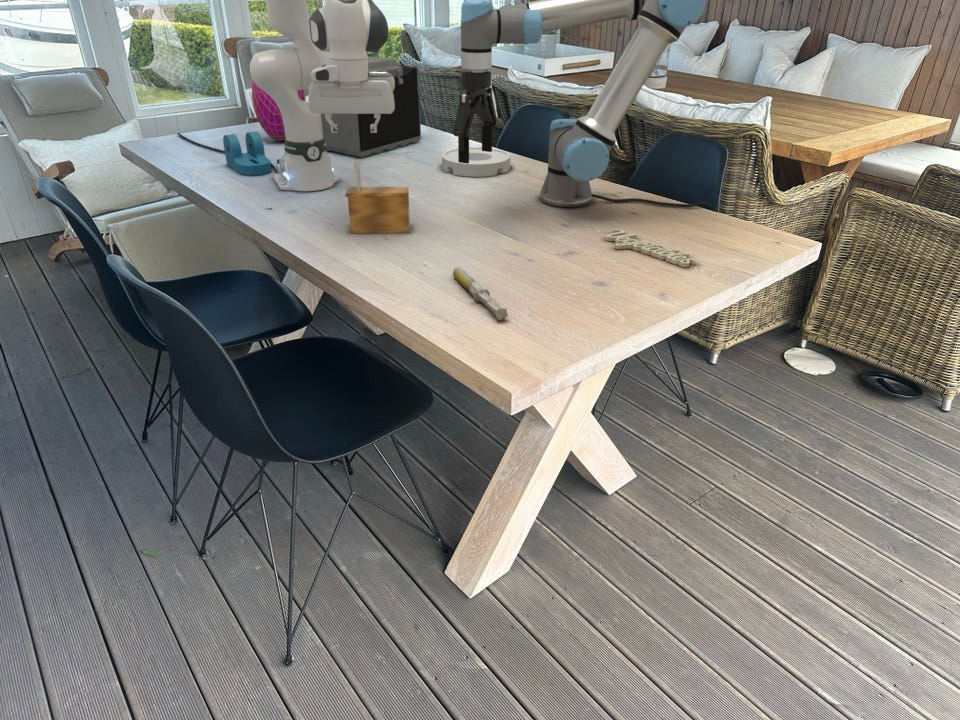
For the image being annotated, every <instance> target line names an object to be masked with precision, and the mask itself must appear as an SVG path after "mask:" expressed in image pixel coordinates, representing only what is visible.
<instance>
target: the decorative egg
mask: <svg viewBox="0 0 960 720" xmlns="http://www.w3.org/2000/svg"><path fill="white" fill-rule="evenodd" d="M298 96H299V98H300V99H301V100H303V101H305V102H307V101H306V99H307V97H306V93H305V90H299V91H298ZM251 101H252V107H253V110H254V114H255V116H256V118H257V121H258V123H259V125H260V127H261V128H262V130H263V131H264V133H266V135H267V136H268V137H270V138H271V139H273V140H275V141H282V142H285V139H286V136H285V130H284V124H283V119H282V115H281V112H280V110H279V107H278V106H277V104H276V103H275V101H274V100H273V99H272V98H271V97H270V96H269V95H268V94H267V93H266V92H264V91H263V90H261V89H260V88H259V87H258V86H257V85H256V84H255V83H254V81H253V79H252V78H251Z"/></svg>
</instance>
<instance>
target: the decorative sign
mask: <svg viewBox="0 0 960 720" xmlns="http://www.w3.org/2000/svg"><path fill="white" fill-rule="evenodd" d="M611 230H612V231H611V233H608V234H606V236H605V240H606V241H608V242H614V243H615V244H614V249H615V250H623V249H624V250H625V249H628V250H631V249H632V250H633V251H637V252H640V253H642V254H645V255H649V256H651V257H653V258H658V259H659V260H665V262H666V263H671V264H673V265H678V266H679V267H681V268H689V267H690V264H691V265H693V266H695V265H696V258H692V257H690V253H689V252H687V251H685V252H683V251H682V252H680V249H679V248H672V249H665V248H664V246H663V245H661V244H660V243H654V242H652V241H649V242H643V241H641V240H638V234H637V233H628V234H626V231H625V230H623V229H619V228H612V229H611Z"/></svg>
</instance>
